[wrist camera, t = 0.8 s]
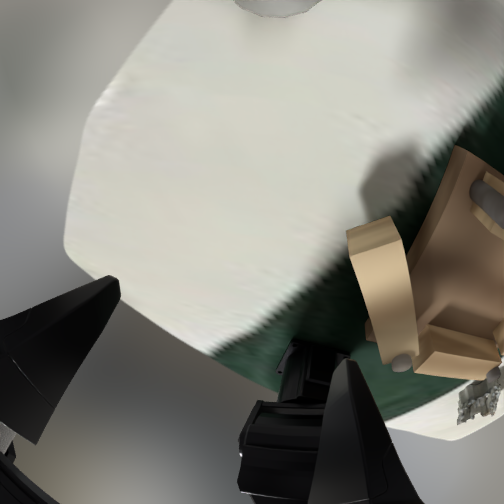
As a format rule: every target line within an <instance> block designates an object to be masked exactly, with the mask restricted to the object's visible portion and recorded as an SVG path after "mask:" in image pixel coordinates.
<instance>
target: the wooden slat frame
mask: <svg viewBox="0 0 504 504" xmlns="http://www.w3.org/2000/svg"><path fill="white" fill-rule="evenodd" d="M406 262H407V266H408V272H409V277H410V282H411V288H412V294H413V301H414V308H415V315H416V324H417V333H418V345H419V355H417V356H414V357H411V358H412V364H413V370H414V373H421V374H428V375H435V376H443V377H451V378H460V379H471V380H484V379H485V378H487V380H488V383H491V382H493V381H495V380H497V379H498V378H499V377H500V375H501V373H500V370H499V367H498V366H499V365H500V364H501V363H502V361H501V358H500V356H499V353H498V350H497V348H498V347H499V350H500V352H501V355H504V175H502V174H501V173H500V172H498V171H497V170H495V169H494V168H493V167H491V166H490V165H488V164H487V163H486V162H484V161H483V160H481V159H480V158H478V157H477V156H475V155H474V154H472V153H470V152H469V151H467V150H465V149H463V148H461V147H459V146H456V145H454V148H453V151H452V154H451V157H450V160H449V163H448V165H447V168H446V171H445V173H444V176H443V179H442V181H441V184H440V186H439V188H438V191H437V193H436V196H435V198H434V200H433V202H432V205H431V207H430V209H429V211H428V214H427V216H426V218H425V220H424V222H423V224H422V226H421V228H420V230H419V232H418V234H417V236H416V238H415V240H414V242H413V244H412V246H411V248H410V250H409V252H408V254H407V255H406ZM365 334H366V340H368V341H372V342H376V343H377V340H376V337H375V333H374V330H373V326H372V323H371V319H370V316H369V318H368V319H367V321H366V322H365Z"/></svg>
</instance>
